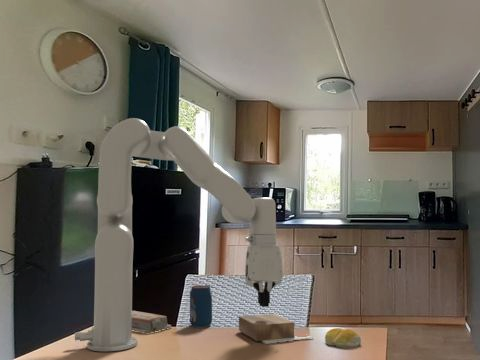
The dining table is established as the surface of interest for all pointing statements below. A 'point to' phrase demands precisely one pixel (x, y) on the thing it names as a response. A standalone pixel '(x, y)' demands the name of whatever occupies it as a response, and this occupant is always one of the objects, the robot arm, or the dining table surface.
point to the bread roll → (342, 338)
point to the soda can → (200, 306)
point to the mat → (285, 339)
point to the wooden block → (266, 327)
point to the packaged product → (148, 322)
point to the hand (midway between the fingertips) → (264, 305)
